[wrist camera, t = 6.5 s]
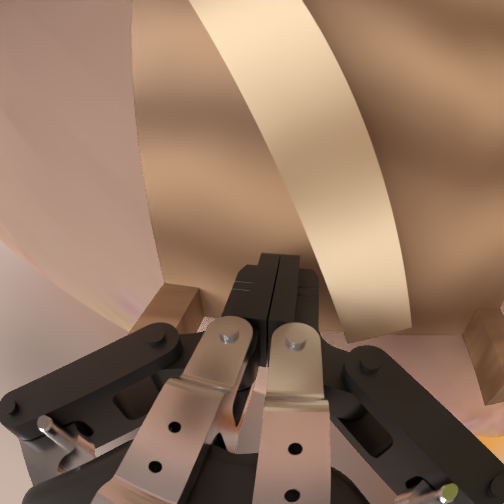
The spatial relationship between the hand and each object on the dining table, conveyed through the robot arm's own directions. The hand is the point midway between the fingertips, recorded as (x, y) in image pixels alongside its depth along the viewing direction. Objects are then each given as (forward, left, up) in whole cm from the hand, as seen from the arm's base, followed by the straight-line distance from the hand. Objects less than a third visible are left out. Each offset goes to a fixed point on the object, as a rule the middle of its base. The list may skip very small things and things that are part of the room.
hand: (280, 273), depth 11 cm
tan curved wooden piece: (-6, +1, -1) cm, 6 cm away
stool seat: (-6, +3, -3) cm, 7 cm away
